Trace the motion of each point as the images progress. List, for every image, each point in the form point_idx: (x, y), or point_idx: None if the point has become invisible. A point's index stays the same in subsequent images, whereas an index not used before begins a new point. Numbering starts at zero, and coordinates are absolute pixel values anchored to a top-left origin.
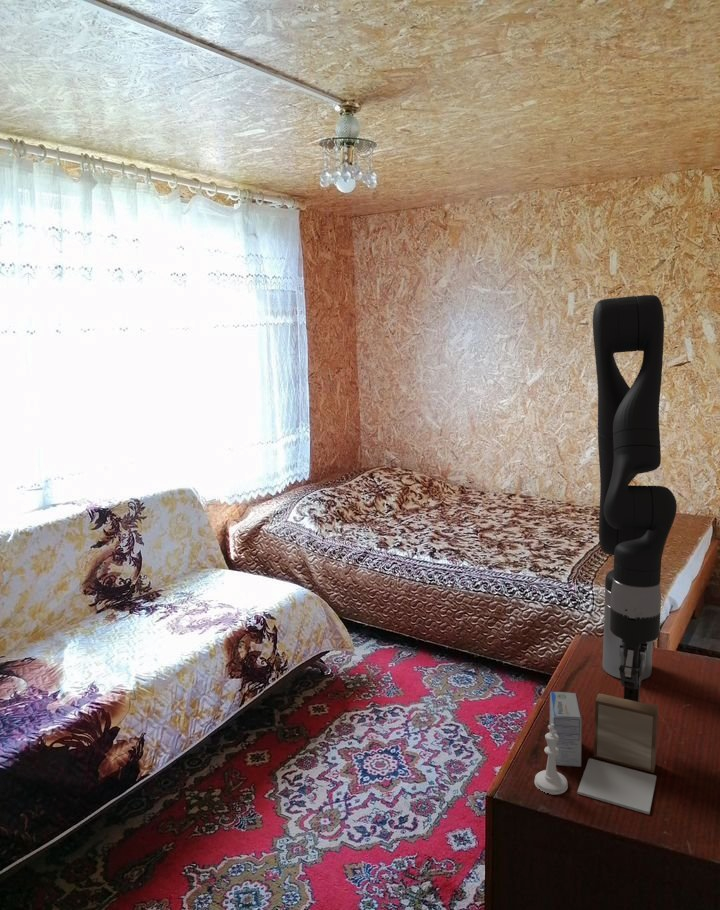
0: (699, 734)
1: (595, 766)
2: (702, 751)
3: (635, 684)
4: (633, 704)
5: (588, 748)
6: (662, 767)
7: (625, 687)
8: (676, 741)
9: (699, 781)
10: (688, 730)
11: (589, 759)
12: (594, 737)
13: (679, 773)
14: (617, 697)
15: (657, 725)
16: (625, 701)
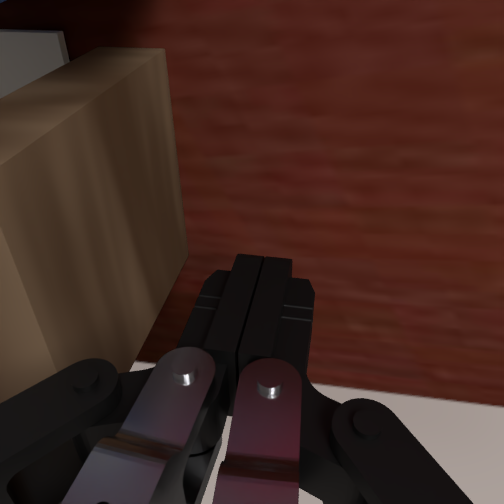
0: (428, 372)
1: (21, 70)
2: (326, 367)
3: (25, 471)
4: (19, 367)
5: (146, 10)
6: (181, 271)
7: (211, 336)
8: (356, 314)
9: (171, 345)
10: (446, 349)
11: (48, 37)
12: (47, 74)
13: (178, 308)
14: (25, 298)
15: (131, 366)
16: (16, 335)
